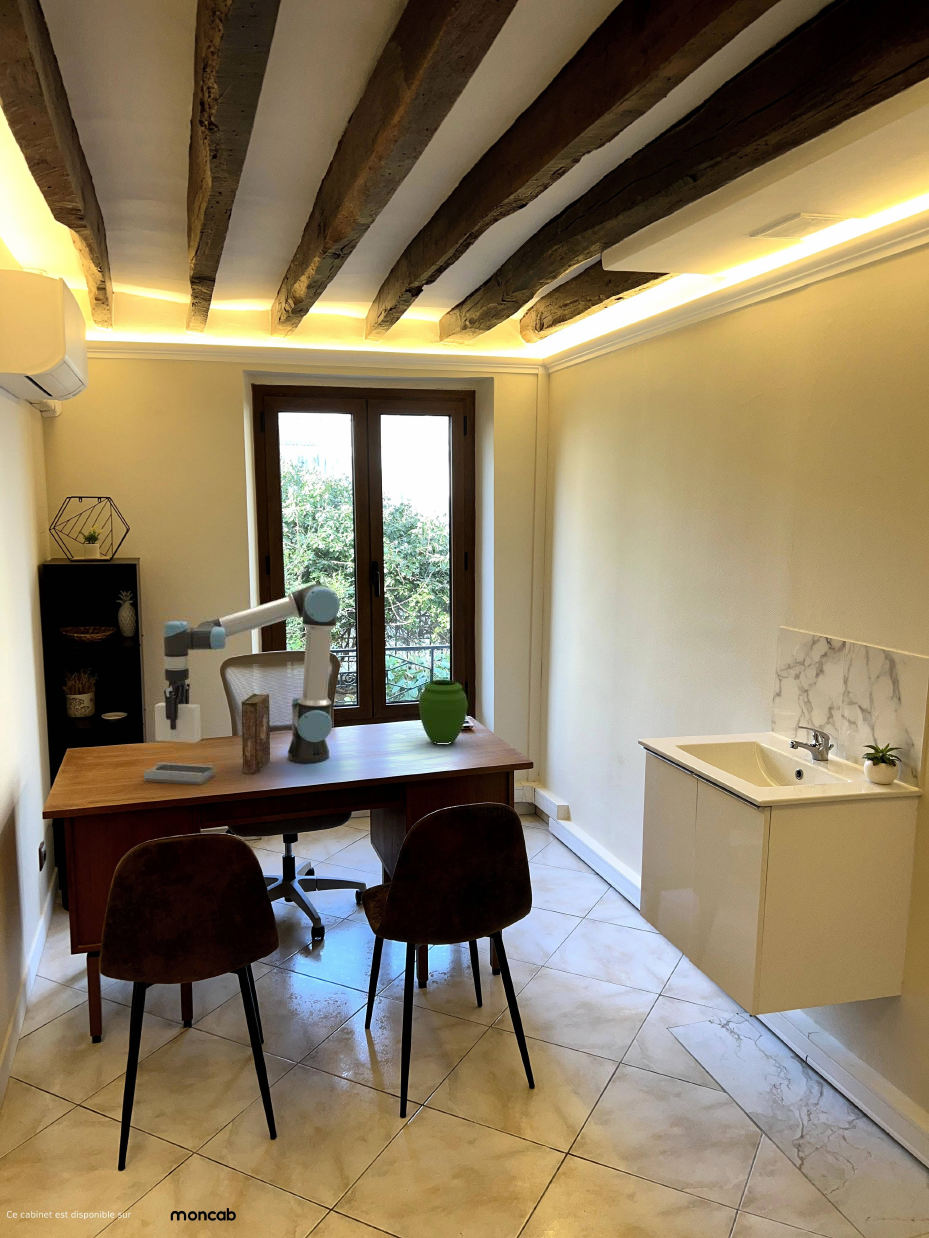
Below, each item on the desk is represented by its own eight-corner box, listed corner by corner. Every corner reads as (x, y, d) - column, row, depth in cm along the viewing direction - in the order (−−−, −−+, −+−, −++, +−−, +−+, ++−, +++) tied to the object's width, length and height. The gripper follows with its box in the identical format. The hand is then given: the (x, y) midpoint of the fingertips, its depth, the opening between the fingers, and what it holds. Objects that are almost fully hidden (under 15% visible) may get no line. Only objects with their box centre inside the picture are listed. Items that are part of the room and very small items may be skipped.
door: (201, 739, 275) (200, 704, 273) (195, 742, 270) (194, 707, 269) (162, 737, 277) (161, 702, 276) (155, 740, 273) (154, 705, 271)
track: (214, 775, 278) (213, 765, 278) (201, 784, 269) (200, 774, 269) (159, 772, 281) (159, 762, 281) (144, 780, 272) (144, 770, 271)
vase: (416, 736, 333) (417, 677, 330) (464, 735, 335) (465, 677, 332) (419, 749, 314) (420, 687, 311) (469, 749, 316) (470, 687, 313)
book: (257, 774, 281) (256, 703, 278) (241, 774, 281) (240, 702, 278) (270, 760, 297) (269, 693, 294) (255, 760, 297) (254, 692, 294)
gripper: (178, 663, 279) (180, 729, 282) (152, 672, 263) (154, 742, 265) (199, 664, 278) (200, 731, 281) (174, 673, 262) (176, 744, 264)
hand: (178, 736), depth 273 cm, fingers closed on door, 4 cm apart
